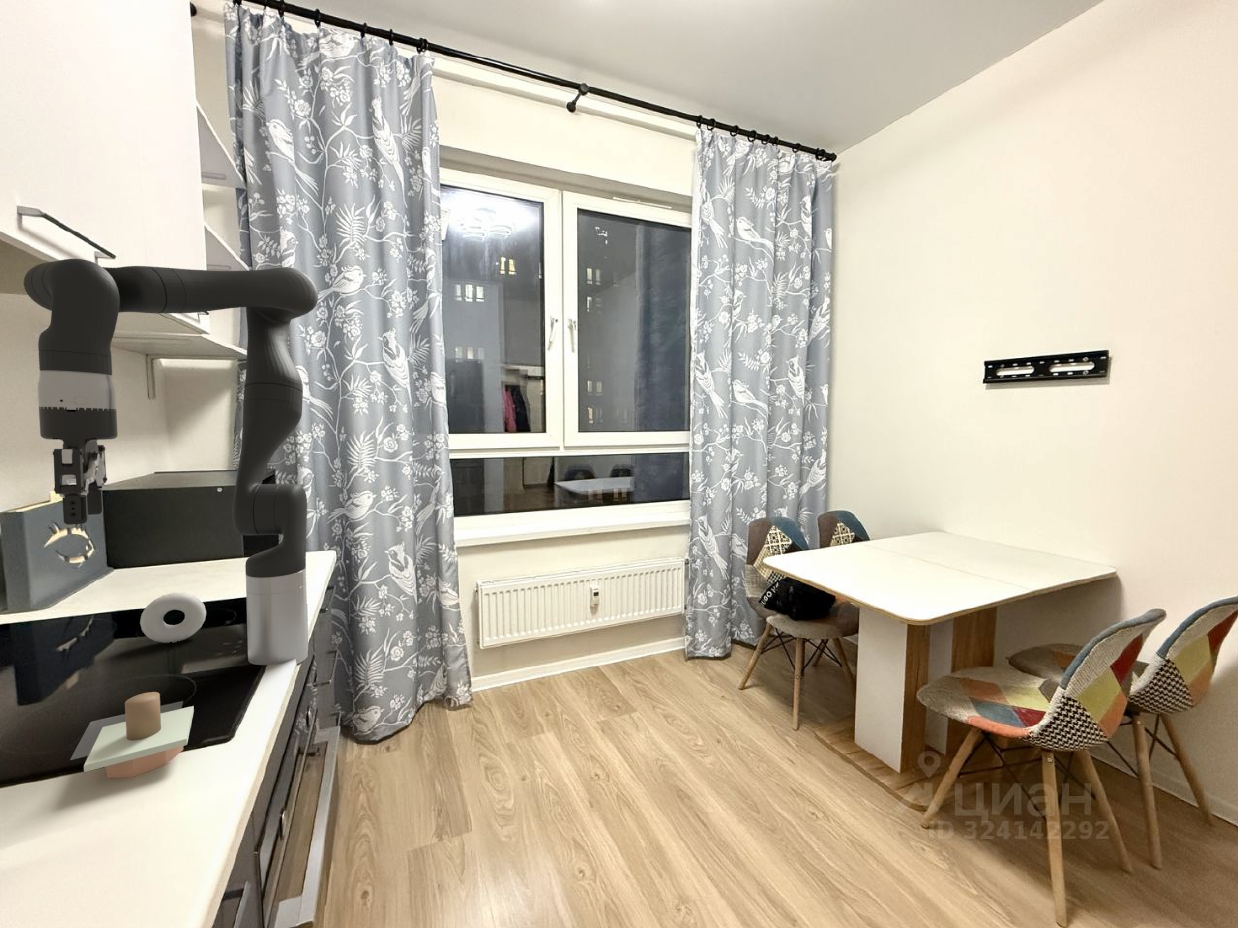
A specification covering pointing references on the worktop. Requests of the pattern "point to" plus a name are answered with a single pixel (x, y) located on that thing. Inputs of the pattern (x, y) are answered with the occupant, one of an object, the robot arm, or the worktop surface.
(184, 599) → the donut
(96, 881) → the worktop surface
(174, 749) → the pink hollow octagonal piece
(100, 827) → the worktop surface
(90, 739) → the mat
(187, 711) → the lid
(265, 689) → the worktop surface
